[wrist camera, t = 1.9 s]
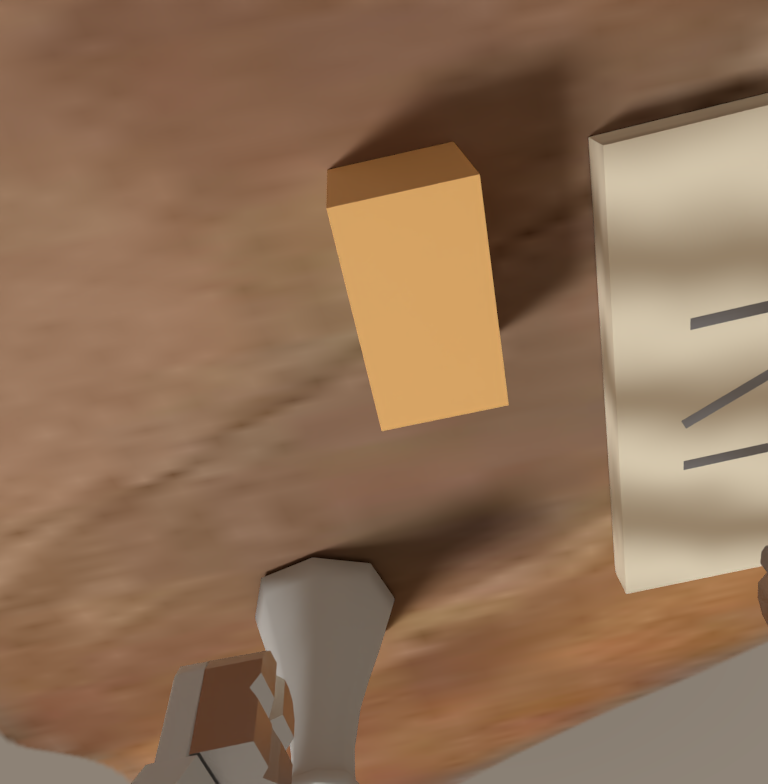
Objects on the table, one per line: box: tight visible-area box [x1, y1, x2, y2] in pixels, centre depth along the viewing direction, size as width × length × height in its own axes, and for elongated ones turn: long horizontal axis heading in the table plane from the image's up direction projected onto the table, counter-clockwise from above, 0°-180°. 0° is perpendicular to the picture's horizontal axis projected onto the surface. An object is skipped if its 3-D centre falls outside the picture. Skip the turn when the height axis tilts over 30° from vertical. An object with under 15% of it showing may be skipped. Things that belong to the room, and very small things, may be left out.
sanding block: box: [327, 142, 509, 431], centre depth 24 cm, size 8×4×5 cm, turn 11°
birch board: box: [588, 93, 768, 594], centre depth 28 cm, size 22×12×2 cm, turn 13°
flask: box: [255, 557, 395, 784], centre depth 30 cm, size 7×7×10 cm
